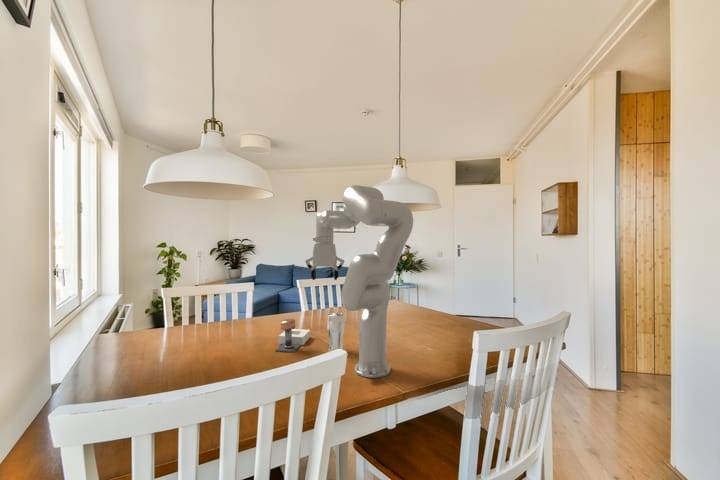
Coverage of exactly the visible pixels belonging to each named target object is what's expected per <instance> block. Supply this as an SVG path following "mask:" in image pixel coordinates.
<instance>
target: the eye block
mask: <svg viewBox="0 0 720 480" xmlns="http://www.w3.org/2000/svg"><path fill="white" fill-rule="evenodd" d="M310 338H311V329H302V328H299V329H298V328H297V329H296V328H294V329H292V344H300V345H301V346H304V345H305V343H307V341H308V340H310ZM277 343H278V345H282V344H285V330H283V332H282V333H280V334H279V335H278V341H277Z"/></svg>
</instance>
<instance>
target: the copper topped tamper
mask: <svg viewBox="0 0 720 480" xmlns="http://www.w3.org/2000/svg"><path fill="white" fill-rule="evenodd" d="M292 329H296V319H294V318H285V319H282V320H280V330H282V331H285V345H284V348H286V349H289V348H292V347H293V344H292Z"/></svg>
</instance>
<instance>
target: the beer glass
mask: <svg viewBox="0 0 720 480" xmlns="http://www.w3.org/2000/svg"><path fill="white" fill-rule="evenodd" d="M326 325H327V334H328V340H329V341H328V342H329V344H328V348H327V349H328V350H327V351H328V352H329V351H332V350H335V349H343V350H344V347H343V337H344V332H345V314H344V313H343V312H330V313H327V324H326Z"/></svg>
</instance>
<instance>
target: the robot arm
mask: <svg viewBox="0 0 720 480" xmlns="http://www.w3.org/2000/svg"><path fill="white" fill-rule="evenodd" d="M342 200H343V210H330V209H329V210H327V209H326V210H324V211H323V212H321V211H320V212H317V214H316V216H315V222H316V223H315V224H316V225H315V231H316V232H315V237H313V238H312V241H313V242H315V243H314V244H313V250H312V257H310V258H308V259H306V260H305V261H304V262H305V263H306V266H307V268H308V269H310V272H311V274H310V275H311V276H310V277H311V278H312V281H314V280H316V278H317V276H316V275H317V271H316V268H317V267H323V268H324V267H325V268H327V267H333V269H334V270H333V271H334V272H333V273H334V274H333V280H334V281H337V280H338V278H339V270H341V268H342V267H343V266H344V263H345V260H344V259H342V258H340V257H338V256H337V249H336V244H335V243H334V229H341V230H342V229H344V230H345V229H346V230H347V229H351V228H353V227H356V226H357V225H359V224H360V222H361V223H362V224H364V225H367V226H371V227H388V229H387V230H386V231H385V232H383V234H382V235H381V236H380V238H379V239H378V241H377V244H376V247H375V250H374V252H372V253H364V254H362V253H361V254H358V255H356V256H354V257H353V258H352V260H350V262H349V263H350V264H349V266H348V270H347V272H346V275H345V278H344V281H343V285H342V289H341V294H340V301H341V304H342V306H343V307H344V309H346V310H347V311H350V312H351V311H352V312H356V311H361V313H360V316H359V324H358V325H359V327H358V329H359V331H358V332H359V333H358V335H359V337H358V338H359V339H358V340H359V341H358V343H359V344H358V363H356V364H355V366H354V372H355V373H356V374H357V375H359V376H361V377H363V378H369V379H370V378H371V379H372V378H373V379H376V378H384V377H386V376H388V375H389V374H390V373H391V369H392V368H391V366H390V365H389V364H388V363H387V317H388V308H389V302H390V297H391V296H390V295H391V293H390V288H389V286H388V284H386V283H385V282H387V281H389V280H391V279H392V278H393V276H394V274H395V272H396V269H397V266H398V264H399V261H400V259H401V256H402V253H403V250H404V247H405V245H406V243H407V241H408V240H409V237H410V236H411V233H412V231H413V228H414V217H413V212H412V210H411V209H410V207H409V206H408V205H407V204H405V203H403V202H400V201H397V200H395V201H394V200H389V199H388V200H387V199H386V200H385V198H384V194H383V192H382V191H380V189H378V188H376V187H373V186H372V187H371V186H367V185H366V186H364V185H355V184H354V185H350V186H348V187H347V188H346V190H345V191H344V193H343V196H342ZM311 261H312V265H311V263H310V262H311ZM337 261H338V262H340V263H339V265H337V263H338V262H337Z"/></svg>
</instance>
